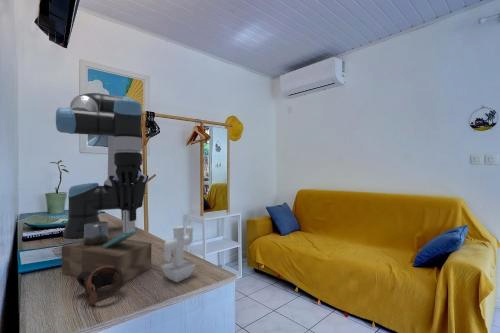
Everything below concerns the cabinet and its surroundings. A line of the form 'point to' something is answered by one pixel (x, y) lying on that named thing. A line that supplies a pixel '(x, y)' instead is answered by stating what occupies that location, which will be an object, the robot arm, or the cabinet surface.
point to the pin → (95, 233)
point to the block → (107, 258)
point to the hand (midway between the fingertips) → (128, 231)
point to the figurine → (178, 255)
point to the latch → (120, 238)
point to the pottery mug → (101, 283)
